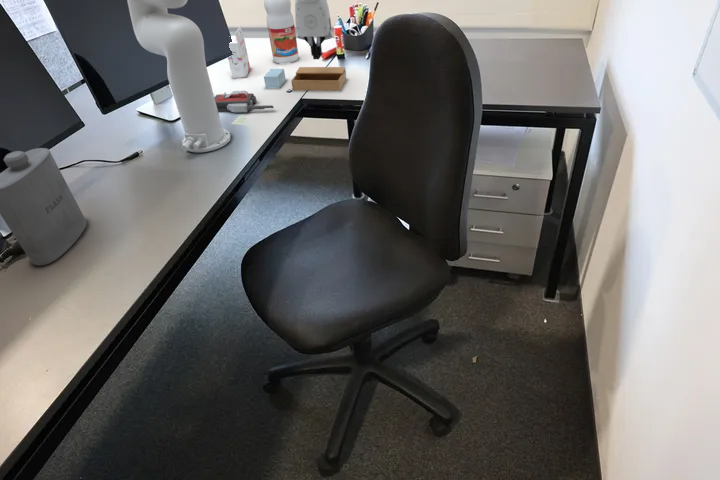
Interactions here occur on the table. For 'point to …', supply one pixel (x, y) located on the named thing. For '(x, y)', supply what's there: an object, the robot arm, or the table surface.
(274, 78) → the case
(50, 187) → the flask
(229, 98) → the toy chainsaw
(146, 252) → the table surface
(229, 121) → the table surface
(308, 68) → the flap
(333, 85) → the carton
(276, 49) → the fruit juice
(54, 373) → the table surface
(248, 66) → the ink cartridge box
